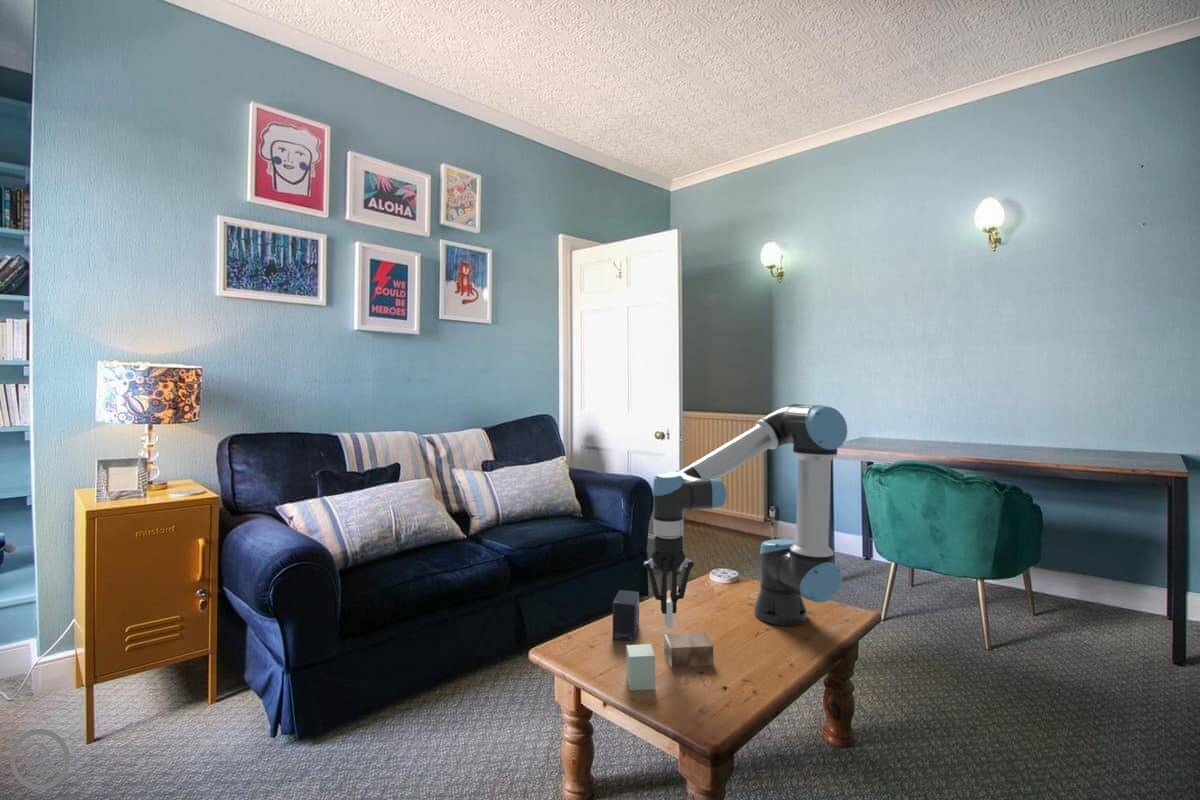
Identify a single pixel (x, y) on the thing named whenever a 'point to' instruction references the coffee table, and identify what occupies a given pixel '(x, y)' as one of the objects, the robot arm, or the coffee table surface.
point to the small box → (625, 615)
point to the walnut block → (688, 649)
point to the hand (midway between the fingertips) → (668, 625)
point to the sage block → (640, 667)
